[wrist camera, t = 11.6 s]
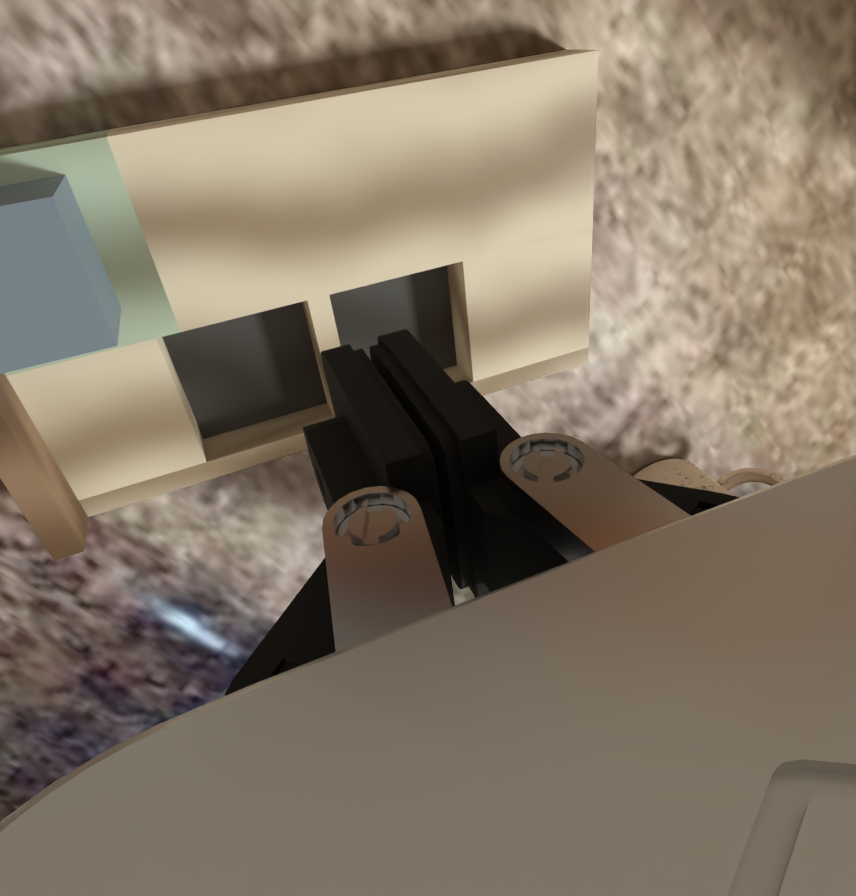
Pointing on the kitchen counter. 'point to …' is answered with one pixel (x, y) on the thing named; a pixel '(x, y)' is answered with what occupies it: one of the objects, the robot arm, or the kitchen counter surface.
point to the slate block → (50, 278)
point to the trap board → (303, 270)
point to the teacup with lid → (703, 476)
